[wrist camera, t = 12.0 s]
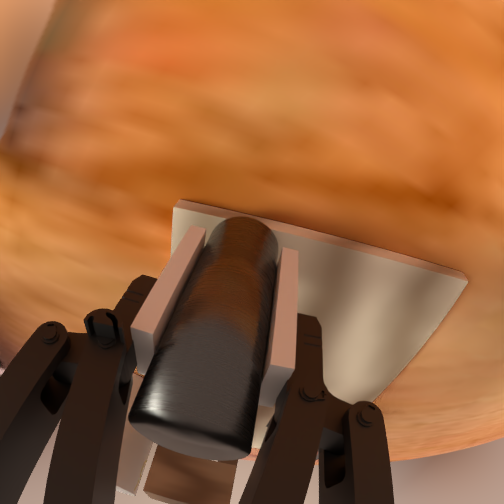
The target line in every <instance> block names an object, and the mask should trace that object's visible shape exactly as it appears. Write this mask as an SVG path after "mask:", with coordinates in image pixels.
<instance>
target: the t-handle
mask: <svg viewBox="0 0 504 504" xmlns="http://www.w3.org/2000/svg"><path fill="white" fill-rule="evenodd" d="M278 249H279V248H278V242H277V239H276V237H275V235H274V233H273V232H272V231H271V229H270V228H269V227H268V226H266V225H265V224H264V223H262V222H261V221H259V220H256V219H254V218H250V217H244V216H237V217H231V218H228V219H226V220H224V221H222V222H220V223H219V224H218V225H217V226H216V227H215V228H214V230H213V231H212V233H211V235H210V237H209V239H208V241H207V243H206V245H205V247H204V249H203V251H202V253H201V255H200V257H199V259H198V261H197V263H196V265H195V267H194V270H193V272H192V274H191V276H190V278H189V280H188V282H187V284H186V286H185V288H184V290H183V292H182V295H181V297H180V299H179V301H178V303H177V305H176V307H175V309H174V312H173V314H172V316H171V318H170V320H169V322H168V325H167V327H166V329H165V331H164V333H163V336H162V338H161V340H160V342H159V344H158V347H157V349H156V351H155V353H154V356H153V358H152V360H151V362H150V365H149V367H148V369H147V372H146V374H145V376H144V379H143V381H142V383H141V386H140V388H139V390H138V393H137V395H136V397H135V400H134V402H133V405H132V407H131V409H130V412H129V414H128V421H129V422H130V424H131V425H132V427H133V428H134V429H135V430H136V431H138V432H139V433H140V434H141V435H143V436H144V437H146V438H147V439H149V440H151V441H152V442H154V443H156V444H158V445H160V446H162V447H165V448H167V449H170V450H172V451H175V452H178V453H181V454H184V455H188V456H192V457H196V458H202V459H208V460H219V461H228V460H237V459H242V458H244V457H246V456H248V455H249V454H250V452H251V448H252V442H253V436H254V429H255V423H256V416H257V410H258V403H259V396H260V389H261V383H262V376H263V369H264V361H265V354H266V347H267V339H268V332H269V324H270V317H271V309H272V301H273V293H274V285H275V276H276V268H277V259H278Z"/></svg>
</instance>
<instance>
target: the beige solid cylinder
mask: <svg viewBox="0 0 504 504" xmlns="http://www.w3.org/2000/svg"><path fill="white" fill-rule="evenodd" d="M132 376H133V385H132V390H131V395H130V400H129V405H128V411H127V416H126V422H125V427H124V433H123V439H122V446H121V452H120V459H119V466H118V474H117V482H116V490H117V491H120V492H123V493H125V494H129V495H133V496H135V495H136V492H137V489H138V486H139V483H140V480H141V477H142V474H143V471H144V468H145V465H146V462H147V459H148V456H149V453H150V450H151V447H152V444H153V442H152V441H151V440H149V439H147V438H146V437H144V436H143V435H141V434H140V433H139V432H138V431H136V430H135V429H134V428H133V427H132V425H131V424H130V422H129V421H128V414H129V412H130V409H131V407H132V405H133V402H134V400H135V397H136V395H137V393H138V390H139V388H140V386H141V383H142V381H143V379H144V378H142V377H141V376H139V375H137V374H134V373H133V375H132Z"/></svg>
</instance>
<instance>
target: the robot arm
mask: <svg viewBox="0 0 504 504" xmlns="http://www.w3.org/2000/svg"><path fill="white" fill-rule="evenodd" d="M205 237H206V228H201V227H197V226H193V225H191V226H190V228H189V229H188V231H187V232H186V234H185V236H184V237H183V239H182V240H181V242H180V243H179V245H178V247H177V248H176V250H175V251H174V253H173V255H172V256H171V258H170V260H169V261H168V263H167V265H166V266H165V268H164V269H163V271H162V273H161V274H160V276H159V278H158V279H156V278H153V277H149V276H146V275H141V276H140V277H138V278H136V279H135V280H133V281H132V283H131V284H130V286H129V287H128V289H127V291H126V292H125V293H124V295H123V296H122V298H121V299H120V301H119V302H118V304H117V306H116V307H115V309H114V310H113V311H112V310H110V309H97V310H94V311H92V312H90V313H89V314H87V316H86V317H85V319H84V323H85V327H86V330H87V333H72V332H67V330H66V328H65V326H63V325H62V324H61V323H59V322H55V321H51V322H46V323H44V324H42V325H41V326H40V327H38V328H37V330H36V331H35V332H34V333H33V334H32V336H31V337H30V338H29V339H28V341H27V342H26V343H25V345H24V346H23V347H22V348H21V350H20V351H19V352H18V354H17V355H16V356H15V358H14V359H13V360H12V362H11V363H10V364H9V366H8V367H7V368H6V370H5V371H4V373H3V374H2V375H1V377H0V504H17V502H18V500H19V498H20V496H21V494H22V492H23V490H24V487H25V485H26V483H27V481H28V479H29V477H30V475H31V473H32V471H33V469H34V467H35V465H36V463H37V461H38V460H39V458H40V456H41V454H42V452H43V450H44V448H45V446H46V444H47V443H48V441H49V439H50V437H51V435H52V433H53V432H54V430H55V428H56V426H57V424H58V423H59V421H60V419H61V422H60V425H59V429H58V433H57V437H56V441H55V445H54V450H53V454H52V459H51V464H50V468H49V473H48V478H47V484H46V490H45V496H44V503H43V504H114V500H115V491H116V482H117V474H118V466H119V459H120V452H121V446H122V439H123V433H124V427H125V422H126V416H127V411H128V405H129V400H130V395H131V390H132V385H133V376H132V375H133V372H134V370H135V368H136V366H137V371H138V373H140V374H143V375H145V374H146V372H147V369H148V367H149V365H150V362H151V360H152V358H153V356H154V353H155V351H156V349H157V347H158V344H159V342H160V340H161V338H162V336H163V333H164V331H165V329H166V327H167V325H168V322H169V320H170V318H171V316H172V314H173V312H174V309H175V307H176V305H177V303H178V301H179V299H180V297H181V295H182V292H183V290H184V288H185V286H186V284H187V282H188V280H189V278H190V276H191V274H192V272H193V270H194V267H195V265H196V263H197V261H198V259H199V257H200V255H201V253H202V251H203V249H204V244H205ZM297 303H298V251H297V250H293V249H289V248H285V247H283V248H282V251H281V254H280V257H279V261H278V264H277V268H276V276H275V285H274V293H273V301H272V309H271V317H270V324H269V332H268V339H267V347H266V354H265V361H264V369H263V376H262V383H261V389H260V396H259V403H258V405H261V406H266V407H273V406H274V404H275V413H274V415H273V416H272V418H271V419H270V421H269V422H268V424H267V425H266V427H268V428H267V431H266V434H265V437H264V439H263V442H262V445H261V448H260V450H259V453H258V456H257V458H256V461H255V464H254V466H253V469H252V472H251V474H250V477H249V479H248V482H247V484H246V487H245V489H244V492H243V494H242V497H241V499H240V501H239V504H304V500H305V496H306V493H307V490H308V486H309V483H310V479H311V476H312V472H313V468H314V464H315V460H316V456H317V452H319V504H394V496H393V485H392V476H391V467H390V459H389V451H388V444H387V437H386V431H385V425H384V419H383V415H382V412H381V410H380V409H379V408H378V407H377V405H375V404H373V403H372V402H369V401H358V402H356V403H355V404H353V405H352V404H350V403H347V402H345V401H343V400H341V399H338V398H337V397H335V396H333V395H332V394H331V393H330V392H329V391H328V389H327V387H326V385H325V384H324V379H323V349H322V327H321V325H320V323H319V321H318V319H317V317H315V316H310V315H306V314H301V313H297ZM0 367H1V363H0ZM275 402H276V403H275ZM61 417H62V418H61Z"/></svg>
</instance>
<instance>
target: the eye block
mask: <svg viewBox="0 0 504 504" xmlns="http://www.w3.org/2000/svg"><path fill="white" fill-rule="evenodd" d="M237 216H244V217H250V218H254V219H256V220H259V221H261V222H262V223H264V224H265V225H266V226H268V227H269V228H270V229H271V231H272V232H273V233H274V235H275V237H276V239H277V242H278V248H279V249H278V259H277V264H278V261H279V257H280V254H281V251H282V248H283V247H285V248H289V249H293V250H297V251H298V303H297V313H301V314H306V315H310V316H315V317H317V319H318V321H319V323H320V325H321V327H322V349H323V379H324V384H325V385H326V387H327V389H328V391H329V392H330V393H331V394H332V395H333V396H335V397H337V398H338V399H341V400H343V401H345V402H347V403H350V404H352V405H353V404H355V403H356V402H358V401H369V402H373V401H374V400H375V399H376V398H377V397H378V396H379V395H380V394H381V393H382V392H383V391H384V390H385V389H386V388H387V386H388V385H389V384H390V383H391V382H392V381H393V380H394V379H395V378H396V377H397V376H398V374H399V373H400V372H401V371H402V370H403V369H404V368H405V367H406V365H407V364H408V363H409V362H410V361H411V360H412V358H413V357H414V356H415V355H416V354H417V352H418V351H419V350H420V349H421V347H422V346H423V345H424V344H425V342H426V341H427V340H428V339H429V337H430V336H431V335H432V334H433V332H434V331H435V330H436V328H437V327H438V326H439V324H440V323H441V322H442V320H443V319H444V317H445V316H446V315H447V313H448V312H449V310H450V309H451V307H452V306H453V305H454V303H455V302H456V300H457V299H458V297H459V296H460V294H461V293H462V291H463V290H464V288H465V286H466V285H467V283H468V280H467V278H466V277H465V275H464V273H463V272H460V271H457V270H454V269H451V268H447V267H444V266H441V265H437V264H434V263H431V262H427V261H424V260H420V259H417V258H414V257H410V256H407V255H403V254H400V253H396V252H392V251H389V250H385V249H382V248H378V247H374V246H371V245H367V244H363V243H360V242H356V241H352V240H349V239H345V238H341V237H337V236H333V235H329V234H326V233H322V232H318V231H314V230H310V229H306V228H302V227H298V226H294V225H290V224H286V223H282V222H278V221H274V220H269V219H265V218H261V217H257V216H253V215H248V214H244V213H240V212H235V211H231V210H227V209H222V208H218V207H213V206H209V205H204V204H200V203H195V202H190V201H186V200H181V199H180V200H179V201H178V202H177V203H176V205H175V206H174V207H173V222H172V239H171V256H172V255H173V253H174V251H175V250H176V248H177V247H178V245H179V243H180V242H181V240H182V239H183V237H184V236H185V234H186V232H187V231H188V229H189V228H190V226H191V225H193V226H197V227H201V228H206V237H205V244H204V247H205V245H206V243H207V241H208V239H209V237H210V235H211V233H212V231H213V230H214V228H215V227H216V226H217V225H218V224H219V223H220V222H222V221H224V220H226V219H228V218H231V217H237ZM275 403H276V402H275ZM274 413H275V404H274V406H273V407H266V406H261V405H258V410H257V416H256V423H255V429H254V436H253V442H252V448H258V449H260V448H261V445H262V442H263V439H264V437H265V434H266V431H267V428H268V427H266V425H267V424H268V422H269V421H270V419H271V418H272V416H273V415H274ZM237 462H238V459H237V460H228V461H219V460H218V462H216V461H212V460H208V459H202V458H196V457H192V456H188V455H184V454H181V453H178V452H175V451H172V450H170V449H167V448H165V447H162V446H160V445H158V446H157V449H156V452H155V455H154V458H153V461H152V465H151V468H150V470H149V474H148V477H147V480H146V483H145V486H144V489H143V491H144V492H145V493H146V494H148V496H149V497H150V498H152V499H155V500H158V501H162V502H165V503H168V504H230V499H231V494H232V489H233V483H234V477H235V473H236V468H237Z"/></svg>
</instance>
